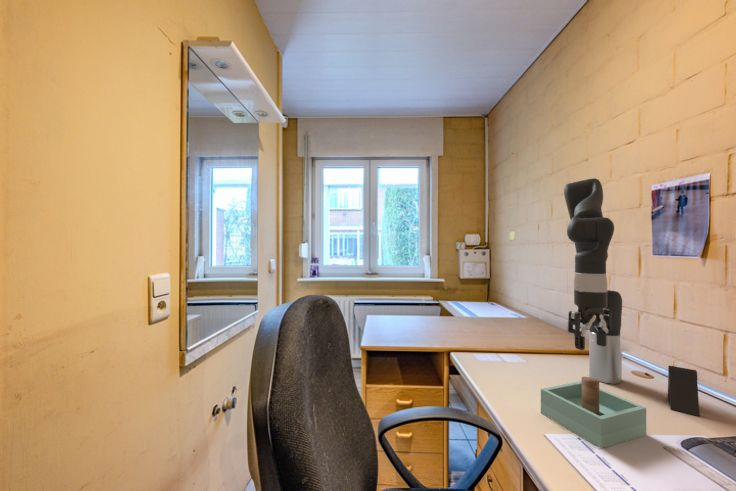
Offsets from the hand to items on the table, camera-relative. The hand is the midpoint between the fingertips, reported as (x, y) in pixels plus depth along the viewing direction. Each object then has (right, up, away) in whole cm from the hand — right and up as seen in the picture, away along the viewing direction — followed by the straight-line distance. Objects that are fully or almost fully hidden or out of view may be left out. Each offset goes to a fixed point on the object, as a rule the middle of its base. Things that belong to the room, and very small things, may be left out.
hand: (590, 347), depth 85 cm
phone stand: (+35, -22, +9) cm, 42 cm away
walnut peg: (0, -21, 0) cm, 21 cm away
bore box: (0, -21, 0) cm, 21 cm away
